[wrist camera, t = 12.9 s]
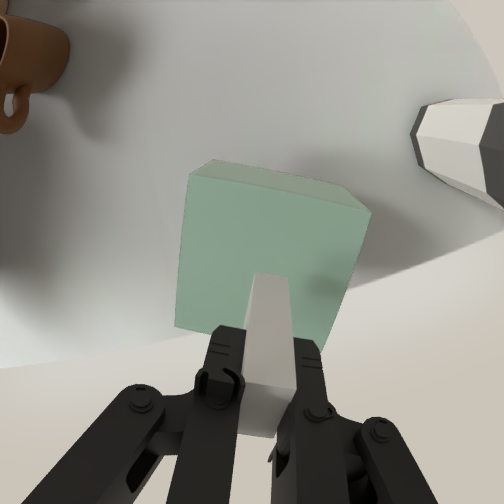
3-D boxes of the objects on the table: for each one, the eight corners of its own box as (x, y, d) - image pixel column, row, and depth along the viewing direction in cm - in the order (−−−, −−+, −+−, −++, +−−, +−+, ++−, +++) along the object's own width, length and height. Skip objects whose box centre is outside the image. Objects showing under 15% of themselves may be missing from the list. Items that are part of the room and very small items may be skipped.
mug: (83, 113, 24) (18, 117, 15) (33, 140, 25) (-30, 154, 16) (69, 16, 19) (11, -4, 11) (20, 49, 20) (-38, 44, 12)
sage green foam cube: (196, 276, 24) (174, 326, 18) (213, 159, 20) (189, 174, 14) (310, 298, 24) (321, 352, 18) (343, 186, 21) (372, 212, 14)
